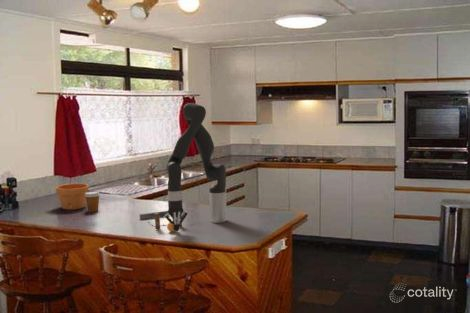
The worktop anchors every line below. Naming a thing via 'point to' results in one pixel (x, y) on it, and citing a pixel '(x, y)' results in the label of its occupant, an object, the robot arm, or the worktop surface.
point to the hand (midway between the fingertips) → (176, 230)
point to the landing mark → (165, 222)
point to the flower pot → (72, 195)
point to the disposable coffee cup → (92, 200)
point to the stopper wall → (152, 214)
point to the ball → (170, 227)
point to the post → (157, 221)
